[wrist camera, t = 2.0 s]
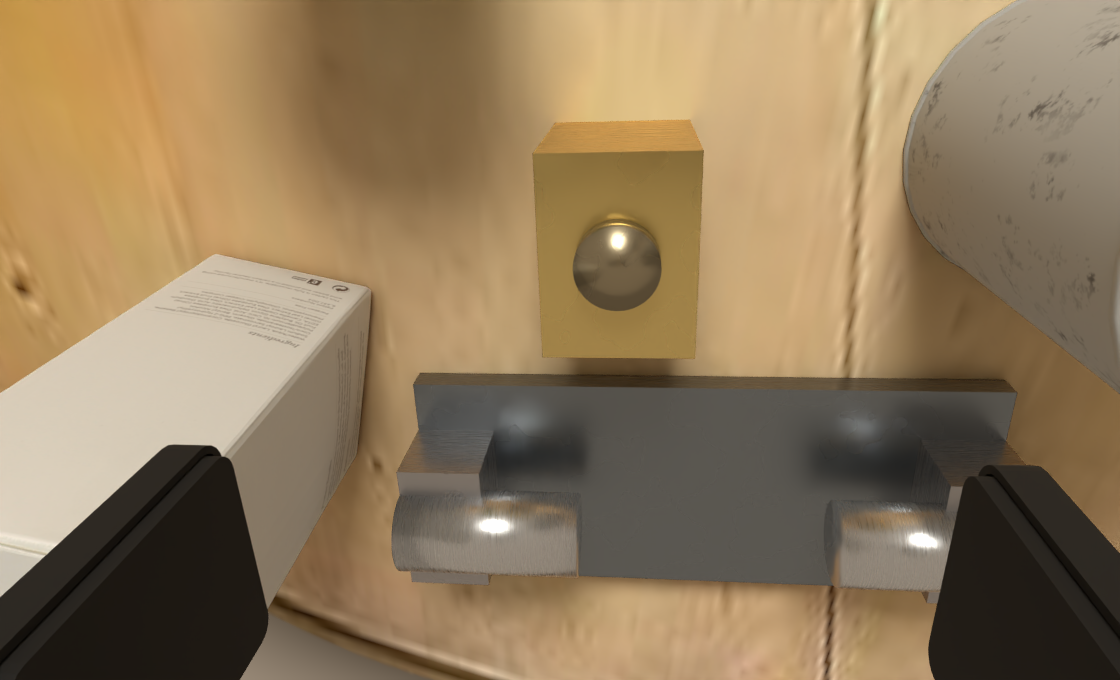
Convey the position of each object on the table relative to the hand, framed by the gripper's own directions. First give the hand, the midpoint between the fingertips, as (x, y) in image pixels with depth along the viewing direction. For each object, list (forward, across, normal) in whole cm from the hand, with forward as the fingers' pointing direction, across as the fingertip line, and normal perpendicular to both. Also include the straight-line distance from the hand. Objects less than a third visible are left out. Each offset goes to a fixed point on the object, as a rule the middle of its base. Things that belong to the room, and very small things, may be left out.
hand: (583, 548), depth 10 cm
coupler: (+18, 0, 0) cm, 18 cm away
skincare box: (+19, +13, +6) cm, 23 cm away
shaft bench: (+18, -3, +11) cm, 22 cm away
